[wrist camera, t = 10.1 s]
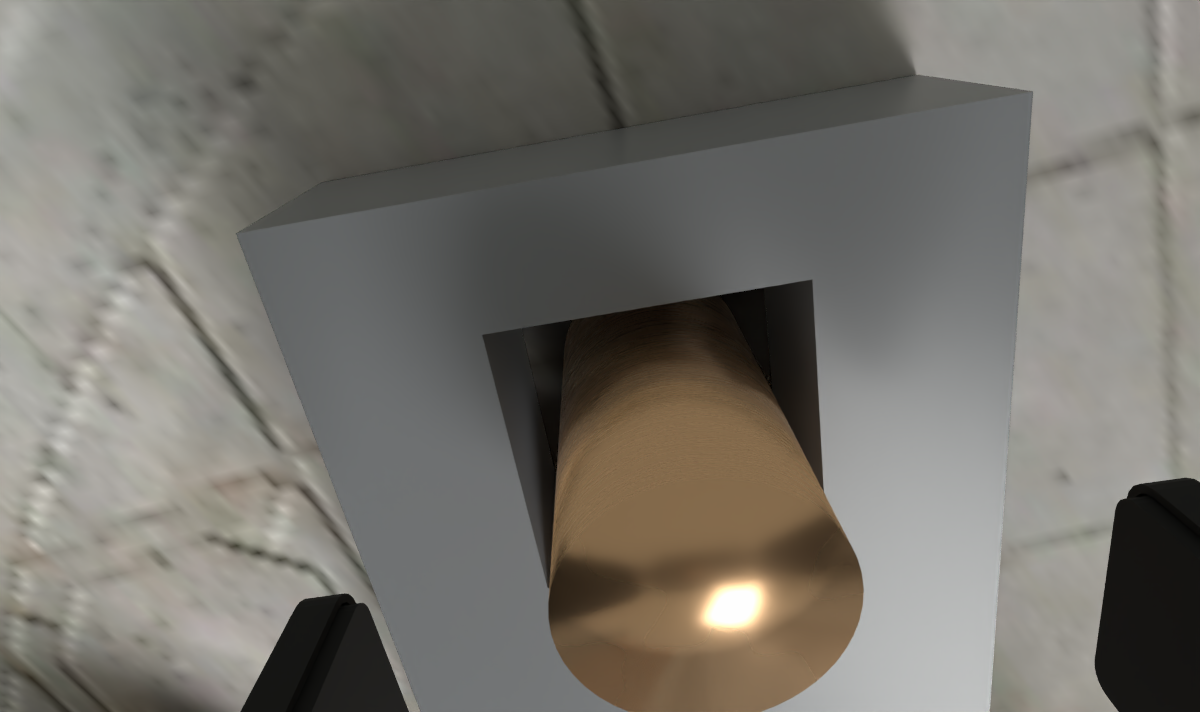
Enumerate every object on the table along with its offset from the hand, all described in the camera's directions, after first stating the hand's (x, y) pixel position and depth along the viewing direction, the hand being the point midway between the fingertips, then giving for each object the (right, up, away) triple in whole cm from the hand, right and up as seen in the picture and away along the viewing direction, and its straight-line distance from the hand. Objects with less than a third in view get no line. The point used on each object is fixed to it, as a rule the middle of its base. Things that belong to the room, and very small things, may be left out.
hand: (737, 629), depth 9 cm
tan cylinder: (-1, +4, +7) cm, 8 cm away
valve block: (0, 0, +9) cm, 9 cm away
